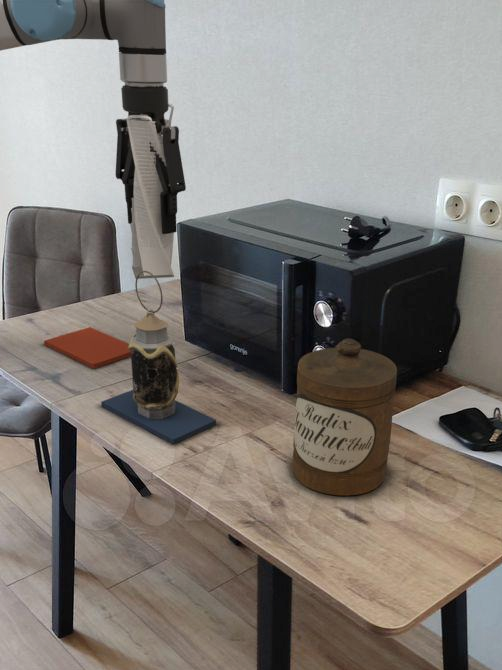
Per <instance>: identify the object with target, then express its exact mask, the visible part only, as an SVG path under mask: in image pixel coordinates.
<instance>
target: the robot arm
mask: <svg viewBox="0 0 502 670" xmlns="http://www.w3.org/2000/svg"><path fill="white" fill-rule="evenodd" d="M166 32H167V31H166V3H165V0H0V51H5V50H10V49H15V48H19V47H25V46H32V45H33V46H34V45H37V44H42V43H43V44H44V43H48V42H52V41H53V42H54V41H59V40H102V41H103V40H107V41H117V44H118V60H119V61H118V63H119V64H118V65H119V80H120V81H121V82H122V83H124V85H122V87H121V88H120V89H121V102H122V104H121V106H122V109H123V111H125V112H126V113H128V114H127V117H128V116H130V115H141V114H147V115H148V117H150V118H151V119H152V121H154V122H156V123H155V126H156V130H157V133H158V134H159V133H160V131H161V133H162V134H161V138H162V139H163V150H164V157H165V161H166V166H165V164H164V161H162V158H161V157H159V154H158V155H157V153H156V152H157V151H156V150H155V151H154V147H153V146H150V148H151V149H150V152H155V153H154V156H156V157H154V160H155V161H154V164H155V165H156V170H157V173H158V176H159V179H160V182H161V185H162V189H163V192H161V194H160V200H161V222H162V234H169V233H174V234H175V233H177V230H178V229H177V214H178V194H179V193H181V192H185V191H186V189H187V187H186V180H185V174H184V168H183V162H182V155H181V150H180V143H179V141H180V140H179V139H180V137H179V136H180V129H179V127H178V126H176V125H174V126H171V127H170V126H168V125H166V122H165V115H166V113H167V112H168V111H169V106H168V103H169V89H168V88H167V87H166V86H164V85H165V84H167V82H168V65H167V35H166V34H167V33H166ZM132 119H141V118H132ZM129 120H130V119H129ZM148 121H150V120H148ZM115 126H116V132H117V137H116V156H115V157H116V159H115V178H116V180H120V181H121V182H122V184H123V186H124V197H125V203H126V210H127V211H126V214H127V224H129V225H130V223H132V212H131V208H132V198H134V174H135V163H134V159H133V153H132V148H131V142H130V137H129V131H128V125H127V118H117V119H116V120H115ZM150 145H152V144H151V143H150ZM169 184H170V186H169Z"/></svg>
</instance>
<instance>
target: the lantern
mask: <svg viewBox="0 0 502 670" xmlns="http://www.w3.org/2000/svg"><path fill="white" fill-rule="evenodd" d="M144 272H146V273H149V274H150V275H152V276H153V278H152V279H154V280H155V282H156V284H157V286H158V288H159V292H160V293H159V294H160V304H159V307H158V308H157V309H156V310H153V309H152V308H150V309H148V308H147V307H146V306H145V305H144V303H143V302H142V300H141V298H140V294H139V292H138V280H139V279H138V277H139V275H140V274H141V273H144ZM134 286H135V288H134V289H135V293H136V296H137V300H138V301H139V303H140V305H141V306H142V308H143V309H144V310H145V311H146V313H145V314H146V315H145V316H144V317H143V318H141V319H139V320H137V321H136V322H134V324H133V326H134V328H135V334H134V335H133V336H132V337H130V341H129V342H128V344H129V346H128V350H131V356H130V360H131V376H132V377H131V378H132V390H133V393H134V394H133V398H134V400H135V402H136V403H137V405H138V413H139V414H141V415H143V416H145V417H147V418H149V419H163V418H165V417H167V416H170V415H172V414H174V413H175V409H176V403H175V400H176V398H177V397H178V394H179V387H180V374H179V371H178V367H179V366H178V363H177V359H176V349H175V347H174V345H173V342H174V337H171V336H169V335H168V330H167V328H168V326H169V323H168V322H167V321H165V320H163V319H160V318H159V317H158V316H157V315H155V313H157V312H159V311H160V310H161V308H162V306H163V298H164V297H163V290H162V287H161V285H160V282H159V280H158V278H156V277H155V276H154V275H153V274H152V273H150V272H148V271H142V272H140V273H139V274H138V276H137V278H135V285H134ZM131 348H132V349H131Z"/></svg>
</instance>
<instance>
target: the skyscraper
mask: <svg viewBox="0 0 502 670" xmlns="http://www.w3.org/2000/svg"><path fill="white" fill-rule="evenodd" d="M168 108H171V109H170V112H169V113H170V114H169V119H165V118H164V119H165V122H166V125H168V126H170V127H172V120H173V115H174V110H175V106H174V105H173V104H172V103H170V102H168ZM132 118H141V119H132ZM126 119H127V125H128V131H129V137H130V142H131V148H132V153H133V159H134V163H135V174H134V198H132V208H131V212H132V223H130V224H129V226H130V231H131V248H130V250H131V255H132V265H131V269H132V272H133V275H134V278H135V279H136V278H137V276H138V274H139V273H140V272H142V271H148V272H150V273H152V274H153V275H154V276H155V277H156V279H160V278H162V279H165V278H175V273H174V271H173V268H172V260H173V251H174V250H173V249H174V239H175V238H174V237H175V232H174V233H169V234H162V222H161V200H160V194H161V192H163V189H162V185H161V182H160V179H159V176H158V173H157V170H156V165H155V164H154V161H155V160H154V157H156V156H154V153H155V152H150V149H151V148H150V146H153V147H154V151H155V150H156V151H157V152H156V153H157V155H158V154H159V157H161V158H162V161H164V164H165V166H166V161H165V157H164V150H163V139H162V138H161V134H162V133H161V131H160V133H159V134H158V133H157V130H156V126H155V123H156V122H154V121H152V119H151V118H150V117H148V115H147V114H141V115H130V116H128V115H127V117H126ZM129 119H130V120H129ZM148 120H150V121H148ZM150 143H151V144H152V145H150ZM169 186H170V184H169ZM139 279H154V278H153V276H152V275H150V274H149V273H146V272H144V273H141V274H140V275H139V277H138V280H139Z"/></svg>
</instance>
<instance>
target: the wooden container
mask: <svg viewBox="0 0 502 670" xmlns="http://www.w3.org/2000/svg"><path fill="white" fill-rule="evenodd" d="M397 369H398V368H397V366H396V364H395V363H394V362H393V361H392V360H391V359H390V358H388V357H387V356H385V355H383V354H380V353H378V352H375V351H372V350H368V349H364V348H362V346H361V343H360V342H359V341H356V340H355V339H354V338H345V339H343V340H341V341H339V342H338V344H336V347H327V348H322V349H318V350H313V351H311V352H308V353H306V354H305V355H303V356H302V357H301V358H300V359H299V360H298V363H297V371H296V386H297V387H296V389H297V390H296V401H295V416H294V428H293V430H294V431H293V444H292V445H293V446H292V447H293V450H292V472H293V474H294V477H295V478H296V479H297V480H298V481H299V482H300V483H301V484H302V485H303V486H305V487H307V488H309V489H311V490H314V491H316V492H319V493H322V494H327V495H331V496H356V495H362V494H366V493H369V492H371V491H373V490H375V489H377V488H378V487H379V486H381V484H382V483H383V482H384V481H385V478H386V473H387V468H388V466H387V465H388V457H389V452H390V443H391V436H392V426H393V414H394V404H395V395H396V394H395V393H396V387H397V378H398V377H397V376H398V370H397Z"/></svg>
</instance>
